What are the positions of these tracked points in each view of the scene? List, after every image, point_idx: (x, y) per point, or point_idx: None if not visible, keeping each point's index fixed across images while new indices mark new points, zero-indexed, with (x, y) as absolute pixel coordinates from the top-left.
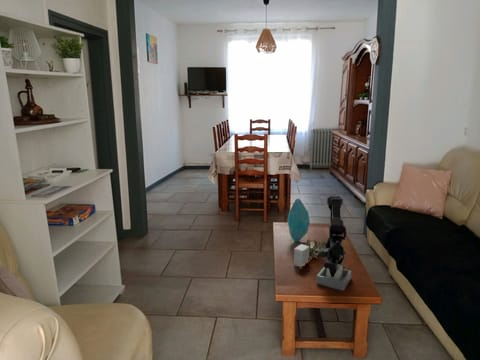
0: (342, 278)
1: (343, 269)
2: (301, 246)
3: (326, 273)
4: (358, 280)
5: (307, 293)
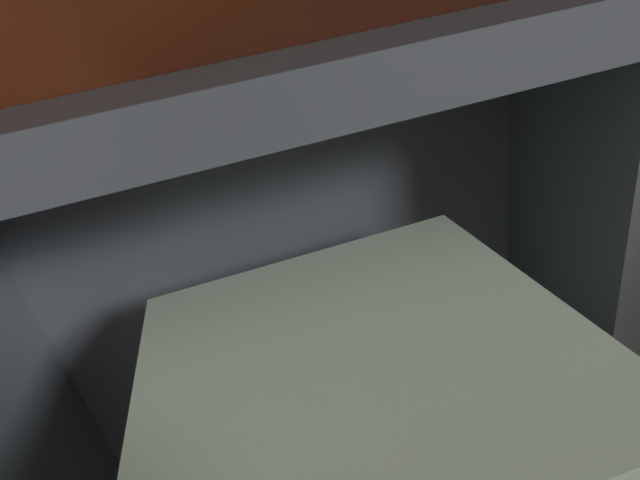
0: None
1: None
2: None
3: (135, 385)
4: None
5: None
